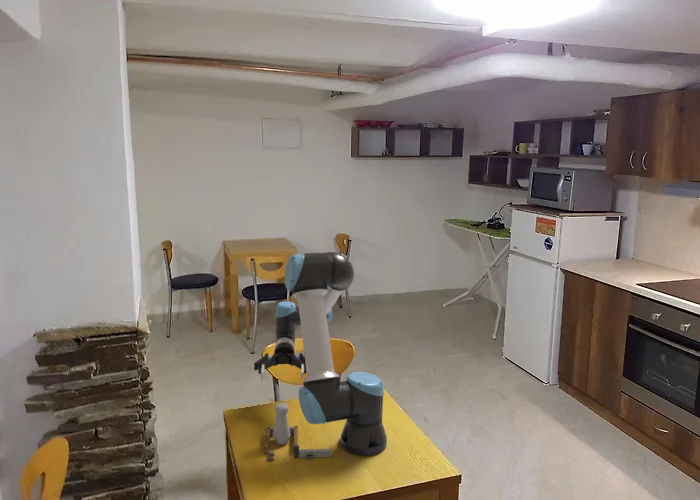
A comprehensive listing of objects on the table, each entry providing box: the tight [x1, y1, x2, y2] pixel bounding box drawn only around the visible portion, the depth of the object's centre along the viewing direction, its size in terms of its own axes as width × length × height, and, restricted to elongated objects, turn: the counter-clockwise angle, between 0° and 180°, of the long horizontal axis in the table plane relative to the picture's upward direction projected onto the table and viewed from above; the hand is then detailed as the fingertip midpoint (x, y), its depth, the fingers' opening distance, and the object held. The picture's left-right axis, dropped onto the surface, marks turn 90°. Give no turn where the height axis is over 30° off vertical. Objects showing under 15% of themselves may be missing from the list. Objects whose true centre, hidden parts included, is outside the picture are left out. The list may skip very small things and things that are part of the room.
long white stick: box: [293, 445, 332, 459], centre depth 169 cm, size 12×1×3 cm, turn 95°
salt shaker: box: [272, 402, 292, 446], centre depth 176 cm, size 6×6×13 cm
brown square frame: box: [263, 425, 314, 462], centre depth 175 cm, size 15×16×2 cm
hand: (282, 376), depth 184 cm, fingers open, 13 cm apart
